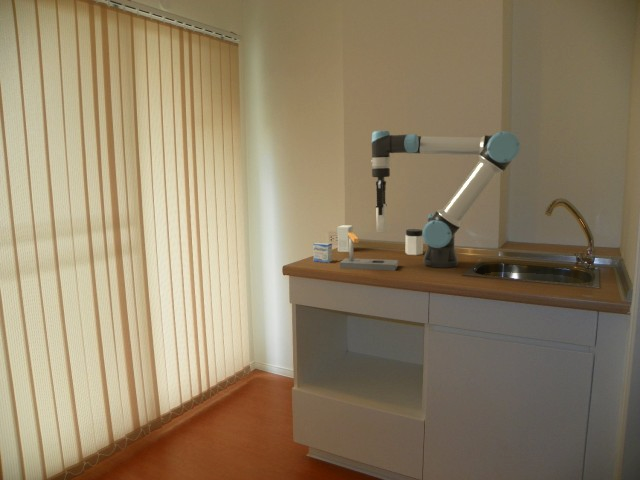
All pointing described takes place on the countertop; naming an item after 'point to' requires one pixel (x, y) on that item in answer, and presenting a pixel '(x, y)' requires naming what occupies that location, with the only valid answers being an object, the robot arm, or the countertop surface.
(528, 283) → the countertop surface
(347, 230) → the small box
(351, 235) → the bar
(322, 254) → the medicine box
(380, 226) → the plug
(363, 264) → the grey post stand
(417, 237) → the jar
